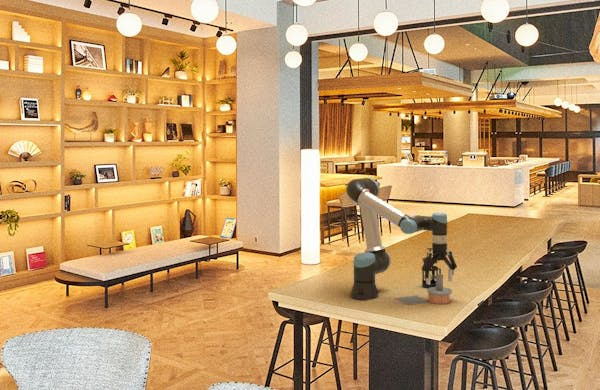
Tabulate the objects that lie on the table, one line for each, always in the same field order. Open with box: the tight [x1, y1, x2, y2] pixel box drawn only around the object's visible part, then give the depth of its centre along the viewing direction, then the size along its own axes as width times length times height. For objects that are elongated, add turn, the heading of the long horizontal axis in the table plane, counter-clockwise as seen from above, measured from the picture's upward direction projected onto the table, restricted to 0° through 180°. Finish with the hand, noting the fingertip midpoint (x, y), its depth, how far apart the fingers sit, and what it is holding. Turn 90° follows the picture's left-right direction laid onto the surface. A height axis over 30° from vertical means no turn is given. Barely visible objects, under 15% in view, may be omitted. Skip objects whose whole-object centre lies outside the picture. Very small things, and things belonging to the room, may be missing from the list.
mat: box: [393, 295, 431, 306], centre depth 296 cm, size 14×14×1 cm
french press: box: [421, 247, 442, 289], centre depth 322 cm, size 12×9×23 cm
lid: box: [426, 273, 453, 295], centre depth 293 cm, size 13×13×9 cm
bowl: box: [427, 292, 451, 305], centre depth 293 cm, size 10×10×5 cm
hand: (439, 282), depth 293 cm, fingers open, 13 cm apart
